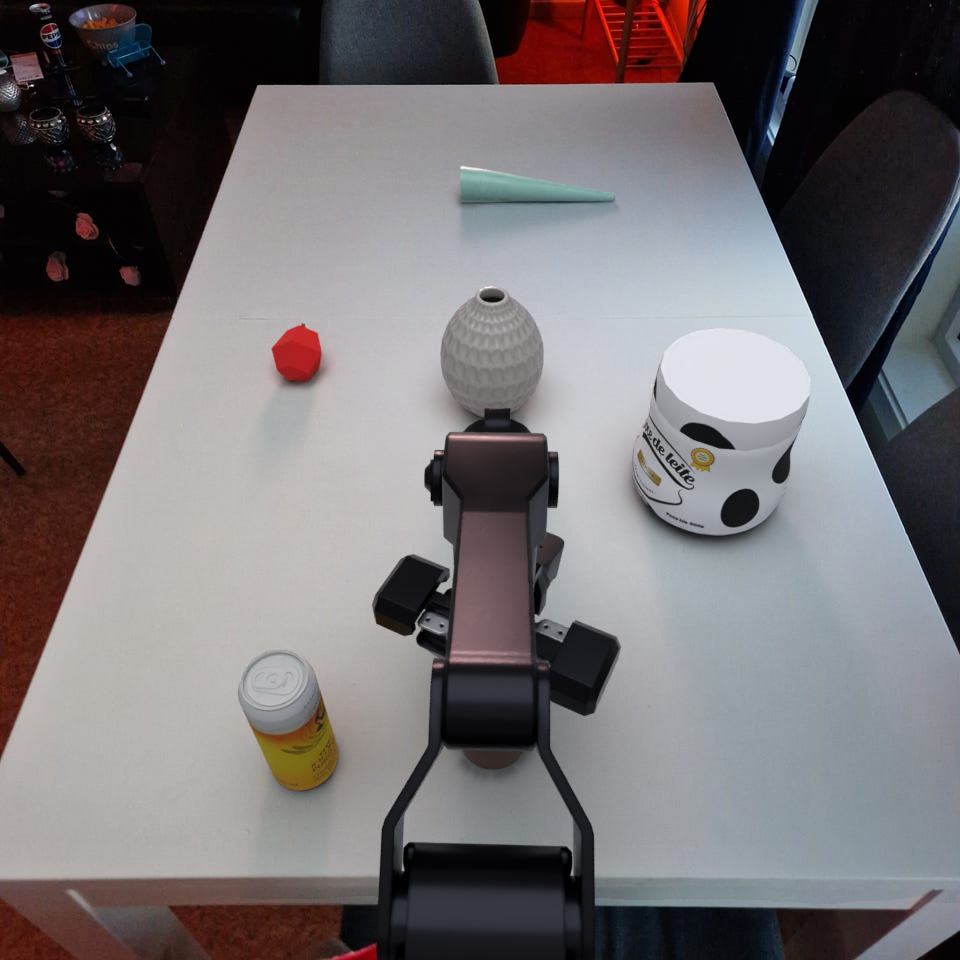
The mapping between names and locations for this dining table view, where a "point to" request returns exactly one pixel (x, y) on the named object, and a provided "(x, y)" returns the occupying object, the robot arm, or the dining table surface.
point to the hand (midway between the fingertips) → (492, 684)
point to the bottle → (492, 758)
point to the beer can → (288, 718)
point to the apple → (297, 353)
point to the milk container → (720, 431)
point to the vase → (491, 352)
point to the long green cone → (520, 188)
